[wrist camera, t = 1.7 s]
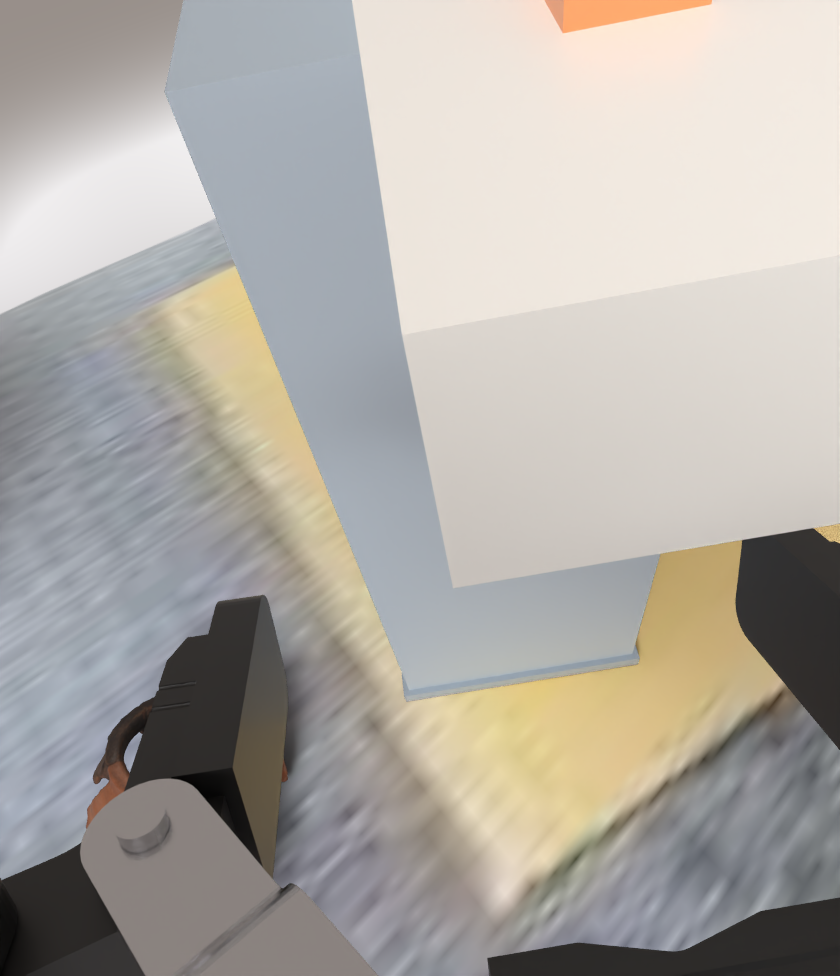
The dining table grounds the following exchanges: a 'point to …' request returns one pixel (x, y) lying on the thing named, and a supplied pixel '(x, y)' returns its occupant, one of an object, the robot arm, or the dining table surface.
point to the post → (363, 345)
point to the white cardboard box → (613, 268)
